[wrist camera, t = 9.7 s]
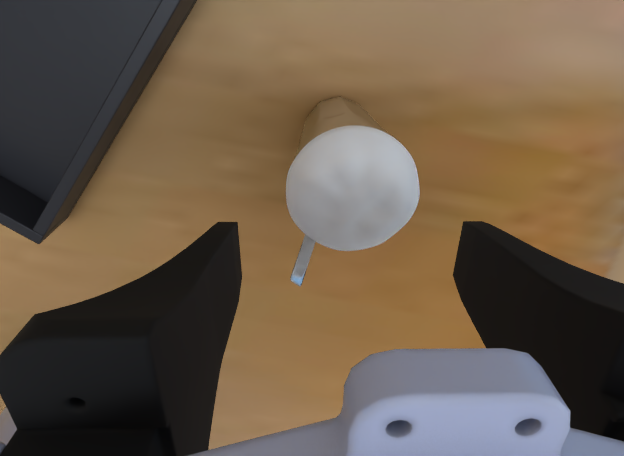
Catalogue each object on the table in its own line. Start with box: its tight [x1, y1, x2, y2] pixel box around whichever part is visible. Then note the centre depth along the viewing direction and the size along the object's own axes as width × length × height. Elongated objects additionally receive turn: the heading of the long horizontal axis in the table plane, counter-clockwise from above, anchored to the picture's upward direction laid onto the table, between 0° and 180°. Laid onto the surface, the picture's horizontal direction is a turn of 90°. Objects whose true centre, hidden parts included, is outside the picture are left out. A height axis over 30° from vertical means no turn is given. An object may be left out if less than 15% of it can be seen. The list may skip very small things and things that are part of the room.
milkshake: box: [286, 96, 420, 286], centre depth 17 cm, size 5×5×10 cm
